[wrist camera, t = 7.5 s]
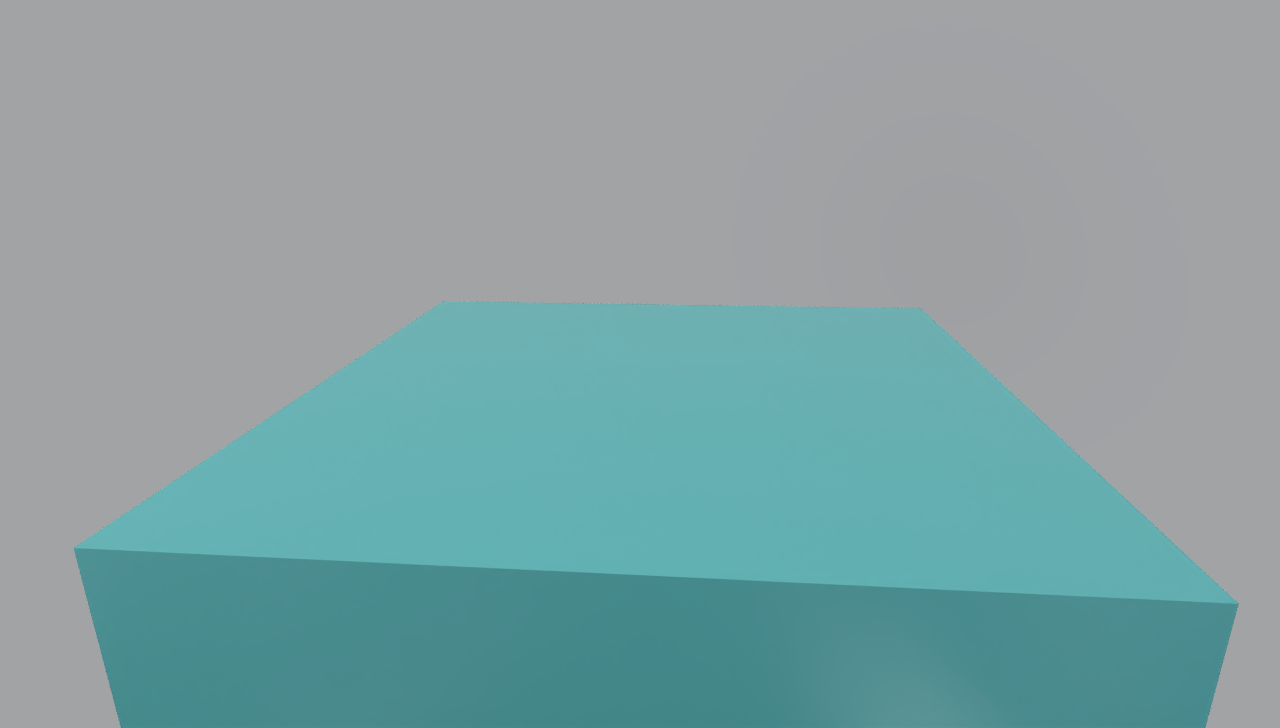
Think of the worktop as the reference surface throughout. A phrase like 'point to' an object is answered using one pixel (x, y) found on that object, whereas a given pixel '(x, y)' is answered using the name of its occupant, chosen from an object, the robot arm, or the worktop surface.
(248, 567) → the block
